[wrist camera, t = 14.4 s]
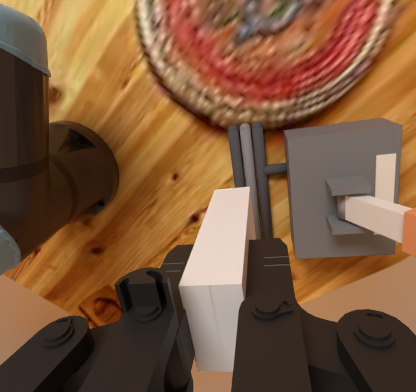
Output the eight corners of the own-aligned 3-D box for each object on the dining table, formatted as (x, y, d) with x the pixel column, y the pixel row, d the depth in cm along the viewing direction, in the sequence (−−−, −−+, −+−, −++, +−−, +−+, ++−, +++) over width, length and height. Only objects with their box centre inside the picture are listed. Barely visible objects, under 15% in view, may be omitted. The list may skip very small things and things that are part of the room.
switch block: (291, 237, 47) (298, 274, 38) (283, 130, 41) (290, 146, 33) (378, 231, 45) (406, 270, 36) (382, 118, 39) (417, 131, 30)
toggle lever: (332, 220, 37) (427, 262, 27) (331, 188, 36) (431, 220, 26) (347, 214, 38) (445, 252, 28) (347, 183, 37) (450, 212, 27)
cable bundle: (244, 249, 49) (243, 254, 48) (227, 124, 42) (226, 126, 41) (296, 246, 47) (297, 251, 46) (288, 116, 41) (289, 118, 39)
